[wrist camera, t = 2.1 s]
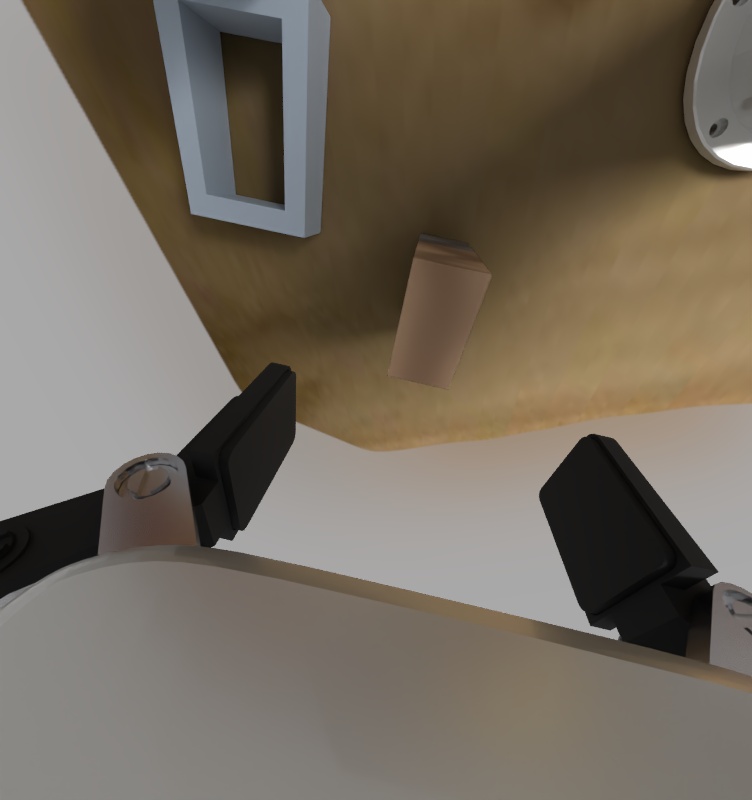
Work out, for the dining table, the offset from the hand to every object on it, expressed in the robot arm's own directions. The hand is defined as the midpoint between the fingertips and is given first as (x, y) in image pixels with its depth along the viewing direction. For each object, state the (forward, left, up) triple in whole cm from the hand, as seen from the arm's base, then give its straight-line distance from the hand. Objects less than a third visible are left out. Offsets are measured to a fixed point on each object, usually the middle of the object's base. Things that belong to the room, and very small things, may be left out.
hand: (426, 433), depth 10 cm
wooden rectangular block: (0, 0, -21) cm, 21 cm away
